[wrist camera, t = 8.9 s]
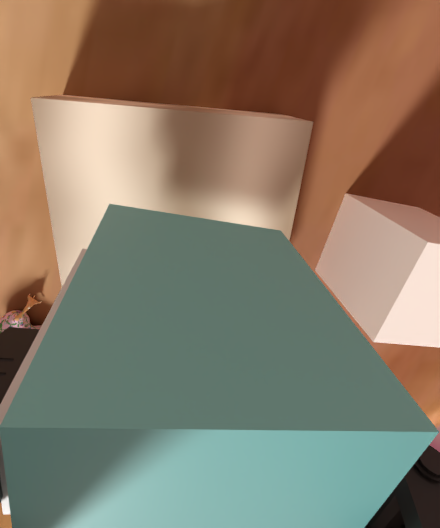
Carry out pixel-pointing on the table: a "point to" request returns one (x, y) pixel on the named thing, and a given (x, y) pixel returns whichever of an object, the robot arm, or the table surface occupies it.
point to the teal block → (203, 390)
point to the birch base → (165, 164)
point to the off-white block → (386, 269)
